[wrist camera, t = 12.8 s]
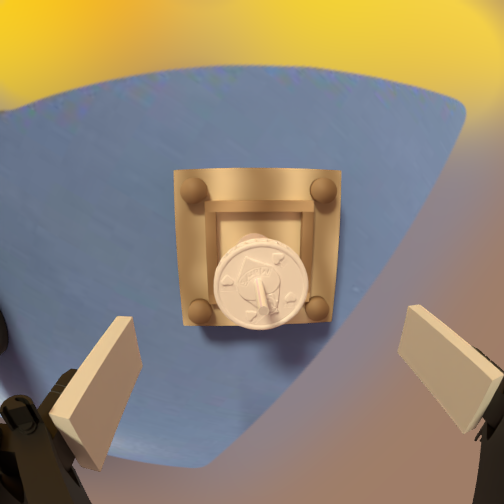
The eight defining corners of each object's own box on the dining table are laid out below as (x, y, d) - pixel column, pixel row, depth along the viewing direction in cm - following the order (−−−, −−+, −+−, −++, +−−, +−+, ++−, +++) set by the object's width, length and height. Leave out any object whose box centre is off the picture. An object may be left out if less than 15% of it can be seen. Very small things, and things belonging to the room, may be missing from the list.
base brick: (190, 306, 35) (181, 330, 29) (183, 171, 31) (170, 170, 25) (319, 303, 36) (334, 326, 30) (326, 171, 32) (345, 170, 26)
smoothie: (270, 208, 27) (302, 238, 14) (297, 266, 29) (342, 340, 15) (209, 236, 28) (183, 292, 14) (238, 293, 29) (239, 383, 16)
